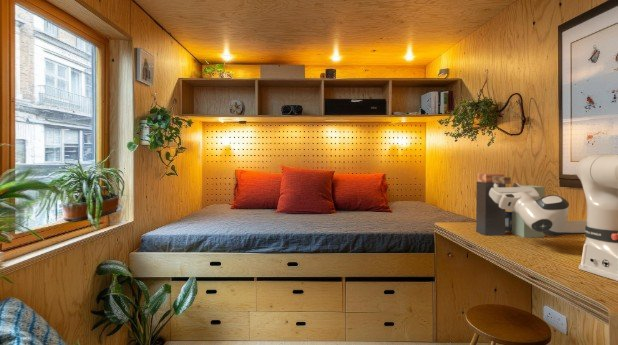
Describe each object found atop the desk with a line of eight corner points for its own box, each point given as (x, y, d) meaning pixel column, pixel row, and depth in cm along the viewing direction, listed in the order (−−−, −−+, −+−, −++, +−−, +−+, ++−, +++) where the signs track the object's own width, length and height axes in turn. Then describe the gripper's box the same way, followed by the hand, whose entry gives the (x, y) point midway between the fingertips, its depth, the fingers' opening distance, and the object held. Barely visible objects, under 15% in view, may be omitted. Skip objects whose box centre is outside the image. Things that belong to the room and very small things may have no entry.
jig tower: (505, 235, 173) (505, 182, 172) (485, 235, 173) (485, 182, 172) (495, 231, 182) (495, 181, 181) (476, 231, 181) (476, 181, 180)
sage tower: (544, 237, 168) (545, 186, 167) (523, 237, 167) (524, 187, 167) (530, 232, 177) (531, 185, 176) (511, 233, 177) (512, 185, 176)
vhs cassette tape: (481, 228, 191) (481, 209, 191) (483, 227, 193) (483, 209, 193) (520, 232, 178) (520, 213, 178) (521, 232, 181) (521, 212, 180)
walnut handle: (516, 183, 163) (517, 175, 163) (497, 184, 162) (498, 175, 162) (494, 181, 181) (494, 173, 181) (477, 181, 180) (477, 173, 180)
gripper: (547, 195, 152) (529, 178, 164) (500, 196, 151) (485, 179, 163) (541, 207, 155) (524, 189, 167) (496, 208, 155) (482, 190, 166)
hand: (505, 184), depth 165 cm, fingers open, 8 cm apart
